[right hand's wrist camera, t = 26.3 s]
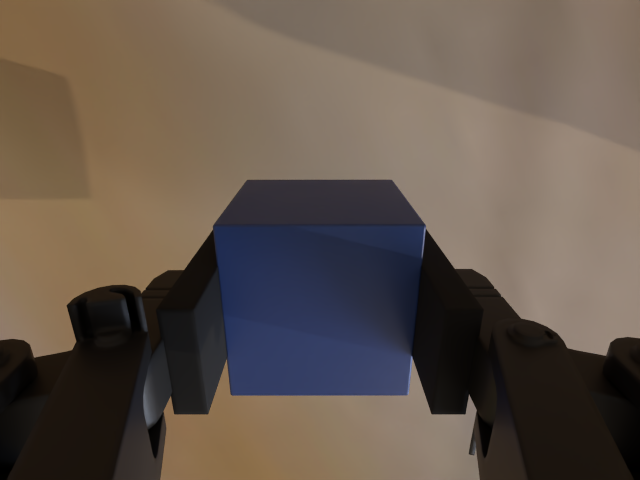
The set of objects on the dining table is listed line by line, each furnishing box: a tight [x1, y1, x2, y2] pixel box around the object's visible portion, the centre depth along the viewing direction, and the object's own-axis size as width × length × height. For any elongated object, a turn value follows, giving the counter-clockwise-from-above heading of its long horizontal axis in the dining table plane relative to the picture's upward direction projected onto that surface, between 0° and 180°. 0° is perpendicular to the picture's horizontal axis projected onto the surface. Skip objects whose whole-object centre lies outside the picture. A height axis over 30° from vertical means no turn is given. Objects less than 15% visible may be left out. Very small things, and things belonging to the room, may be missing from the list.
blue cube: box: [213, 180, 426, 395], centre depth 12 cm, size 5×5×5 cm
